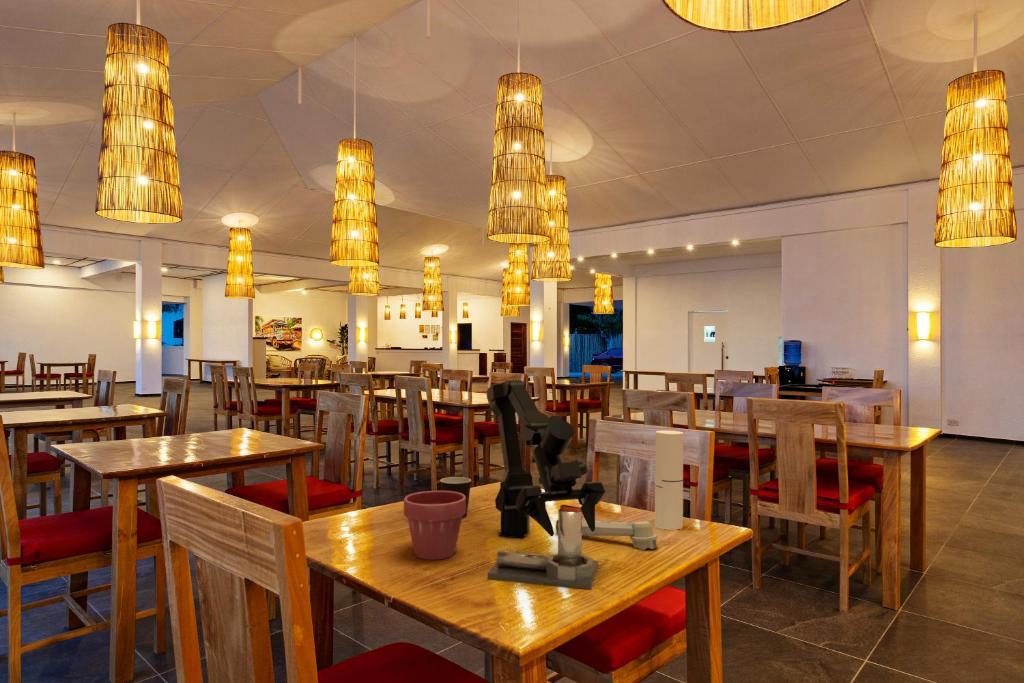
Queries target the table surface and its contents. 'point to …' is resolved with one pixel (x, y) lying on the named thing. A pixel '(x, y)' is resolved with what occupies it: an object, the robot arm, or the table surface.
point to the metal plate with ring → (543, 570)
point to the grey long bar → (623, 532)
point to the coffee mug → (457, 487)
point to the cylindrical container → (669, 480)
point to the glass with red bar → (569, 536)
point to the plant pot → (434, 522)
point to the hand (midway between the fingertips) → (573, 533)
